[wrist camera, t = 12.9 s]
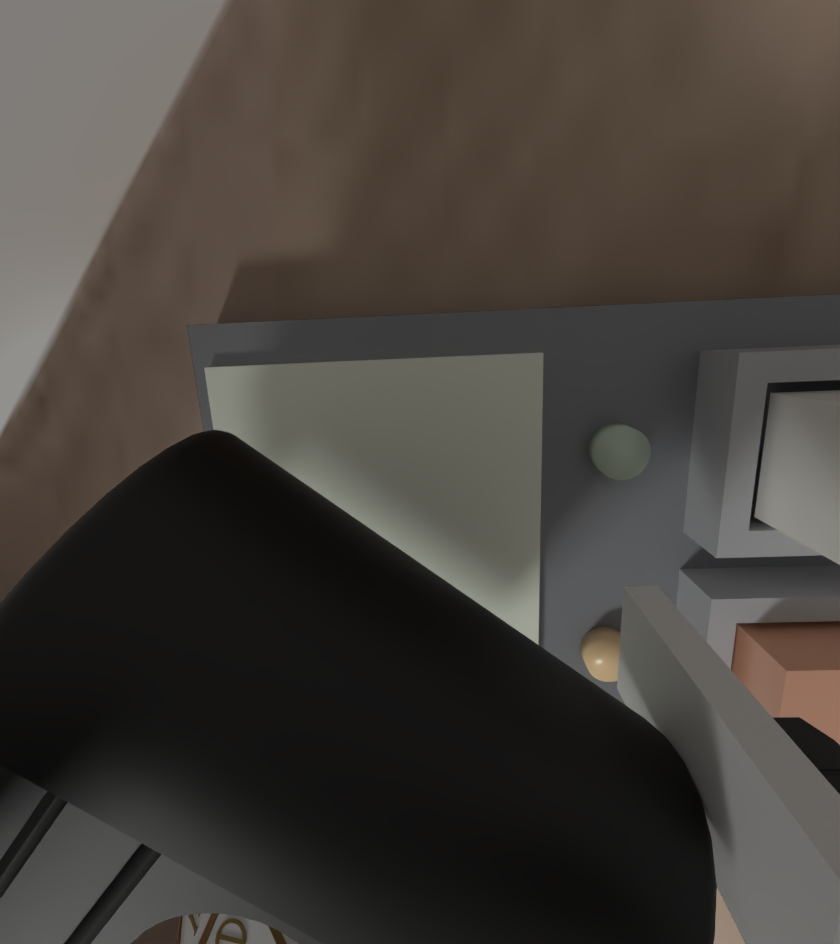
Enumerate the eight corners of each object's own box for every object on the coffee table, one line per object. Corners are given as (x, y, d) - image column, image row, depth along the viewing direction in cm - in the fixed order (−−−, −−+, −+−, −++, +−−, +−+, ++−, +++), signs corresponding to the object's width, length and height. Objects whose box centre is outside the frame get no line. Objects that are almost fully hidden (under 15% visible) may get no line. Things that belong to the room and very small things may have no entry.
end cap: (619, 642, 12) (826, 990, 6) (443, 822, 14) (449, 1252, 7) (272, 396, 11) (33, 484, 4) (122, 625, 13) (-215, 936, 6)
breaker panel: (270, 715, 21) (233, 799, 17) (215, 326, 17) (150, 323, 13) (790, 706, 20) (875, 794, 16) (859, 296, 16) (992, 282, 12)
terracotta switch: (705, 694, 18) (769, 780, 14) (715, 603, 17) (786, 671, 13) (809, 692, 17) (899, 778, 14) (825, 600, 16) (926, 668, 13)
